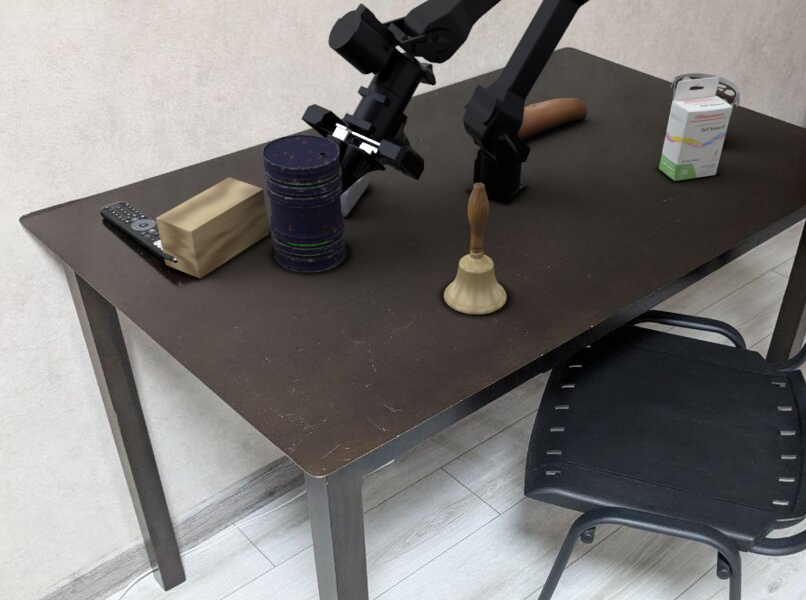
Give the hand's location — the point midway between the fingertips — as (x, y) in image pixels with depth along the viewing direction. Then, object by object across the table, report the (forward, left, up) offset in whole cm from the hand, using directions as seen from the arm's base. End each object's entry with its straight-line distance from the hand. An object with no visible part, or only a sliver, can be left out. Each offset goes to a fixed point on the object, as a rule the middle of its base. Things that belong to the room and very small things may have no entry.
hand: (332, 196), depth 124 cm
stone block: (+9, -10, -7) cm, 15 cm away
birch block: (+12, +11, -7) cm, 17 cm away
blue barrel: (+1, +5, -7) cm, 9 cm away
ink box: (-35, -51, -7) cm, 62 cm away
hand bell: (-24, +1, -7) cm, 25 cm away
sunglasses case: (-6, -52, -7) cm, 52 cm away
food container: (-32, -66, -7) cm, 73 cm away
